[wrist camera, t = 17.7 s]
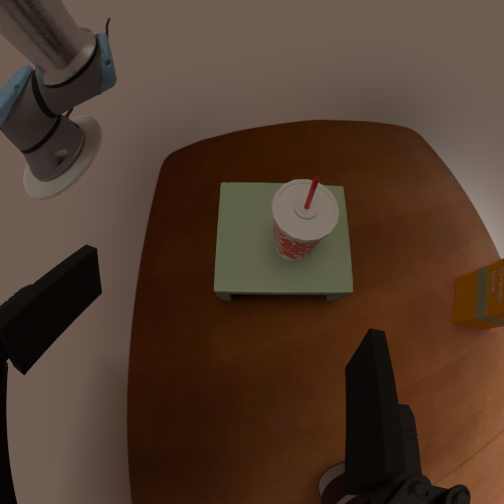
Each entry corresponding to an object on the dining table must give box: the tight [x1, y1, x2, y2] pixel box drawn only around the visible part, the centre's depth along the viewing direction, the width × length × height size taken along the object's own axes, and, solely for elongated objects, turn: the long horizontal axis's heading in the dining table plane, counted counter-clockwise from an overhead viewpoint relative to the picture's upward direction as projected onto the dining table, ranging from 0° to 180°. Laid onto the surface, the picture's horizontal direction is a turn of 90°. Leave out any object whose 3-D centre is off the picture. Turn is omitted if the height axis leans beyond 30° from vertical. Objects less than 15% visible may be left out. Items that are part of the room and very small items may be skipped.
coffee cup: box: [319, 463, 370, 504], centre depth 22 cm, size 10×10×15 cm
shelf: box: [214, 183, 353, 301], centre depth 37 cm, size 14×16×7 cm
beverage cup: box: [271, 175, 339, 261], centre depth 26 cm, size 6×6×14 cm
